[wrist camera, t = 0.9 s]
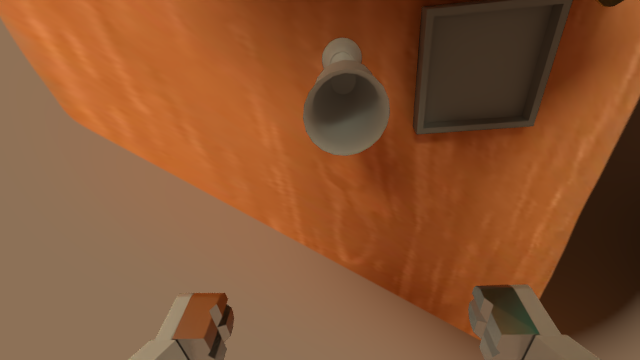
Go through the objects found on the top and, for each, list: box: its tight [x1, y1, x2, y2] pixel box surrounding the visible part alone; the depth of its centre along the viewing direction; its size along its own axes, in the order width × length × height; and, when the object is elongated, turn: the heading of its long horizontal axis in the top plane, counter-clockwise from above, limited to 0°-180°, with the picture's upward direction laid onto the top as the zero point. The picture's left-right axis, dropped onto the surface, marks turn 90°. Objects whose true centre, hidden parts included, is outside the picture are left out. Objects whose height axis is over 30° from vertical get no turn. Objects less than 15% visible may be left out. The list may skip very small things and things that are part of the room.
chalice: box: [303, 38, 390, 156], centre depth 32 cm, size 7×7×18 cm
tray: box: [413, 0, 573, 134], centre depth 38 cm, size 15×15×2 cm
